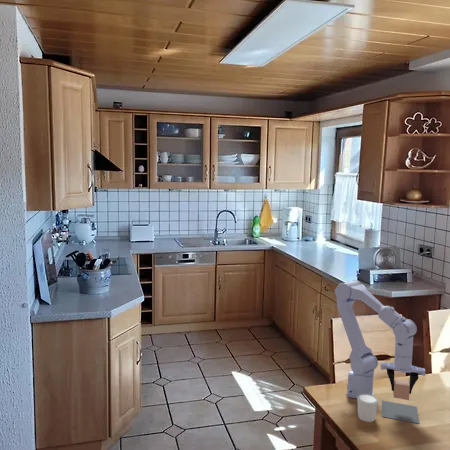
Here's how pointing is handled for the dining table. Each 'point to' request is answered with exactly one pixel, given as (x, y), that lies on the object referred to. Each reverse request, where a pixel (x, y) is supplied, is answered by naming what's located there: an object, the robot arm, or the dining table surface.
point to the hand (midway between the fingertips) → (401, 391)
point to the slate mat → (400, 412)
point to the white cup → (367, 407)
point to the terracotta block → (401, 389)
